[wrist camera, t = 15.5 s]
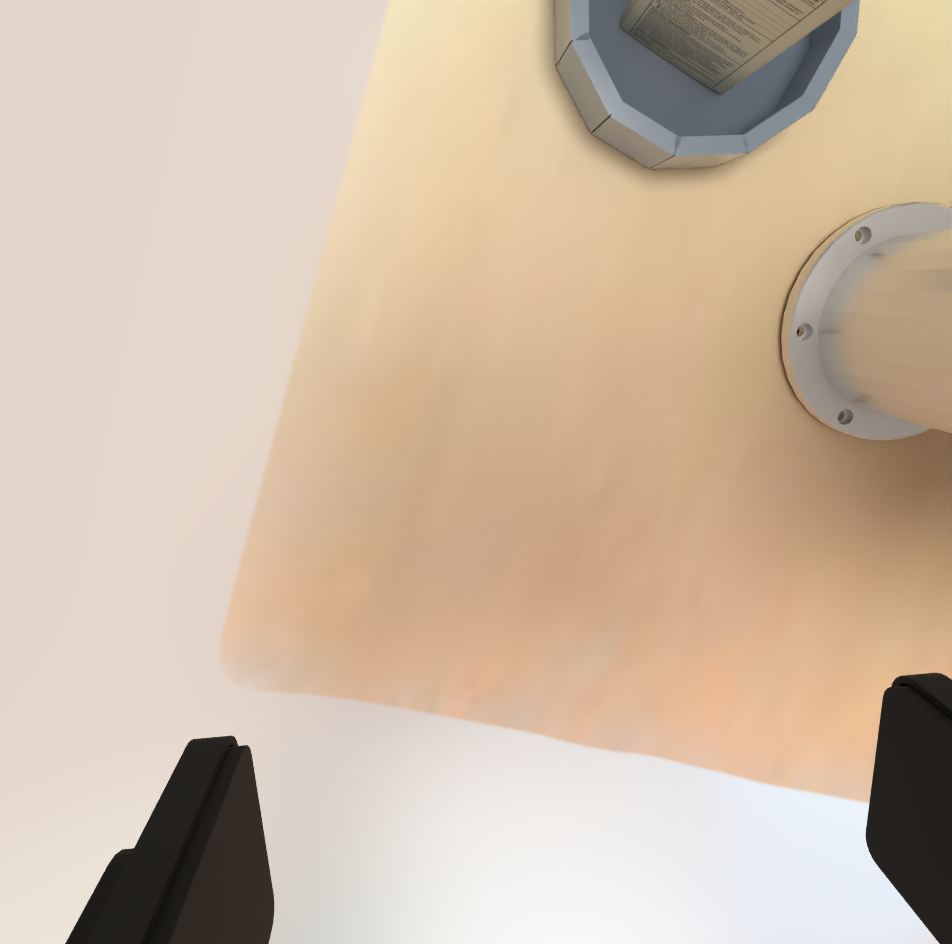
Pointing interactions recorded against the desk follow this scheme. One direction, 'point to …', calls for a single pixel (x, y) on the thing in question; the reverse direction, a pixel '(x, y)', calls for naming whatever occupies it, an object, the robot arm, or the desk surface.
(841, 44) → the slate bowl
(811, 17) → the skincare box
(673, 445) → the desk surface
